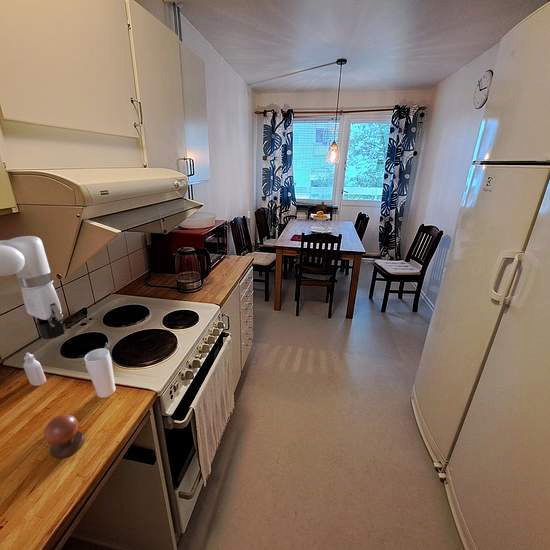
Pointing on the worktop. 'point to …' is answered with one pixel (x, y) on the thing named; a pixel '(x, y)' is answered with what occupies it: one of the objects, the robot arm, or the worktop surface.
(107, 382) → the drinking glass
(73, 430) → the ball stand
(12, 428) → the worktop surface
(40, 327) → the napkin ring
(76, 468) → the worktop surface
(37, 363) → the eye dropper bottle
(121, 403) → the worktop surface
